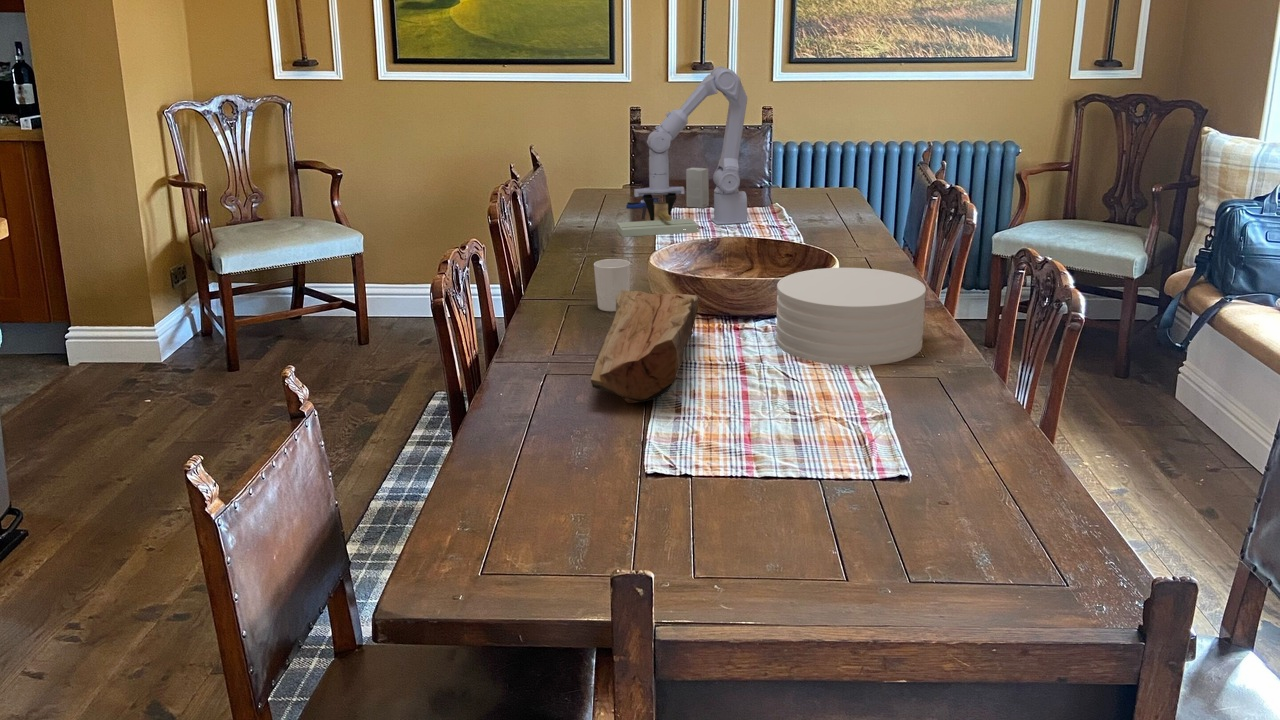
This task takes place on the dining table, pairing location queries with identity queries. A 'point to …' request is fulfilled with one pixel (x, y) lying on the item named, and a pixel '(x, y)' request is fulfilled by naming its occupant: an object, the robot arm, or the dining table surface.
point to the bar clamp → (640, 206)
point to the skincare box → (697, 187)
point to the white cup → (611, 281)
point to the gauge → (661, 211)
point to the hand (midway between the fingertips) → (659, 219)
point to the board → (657, 227)
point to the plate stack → (850, 316)
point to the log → (644, 344)
